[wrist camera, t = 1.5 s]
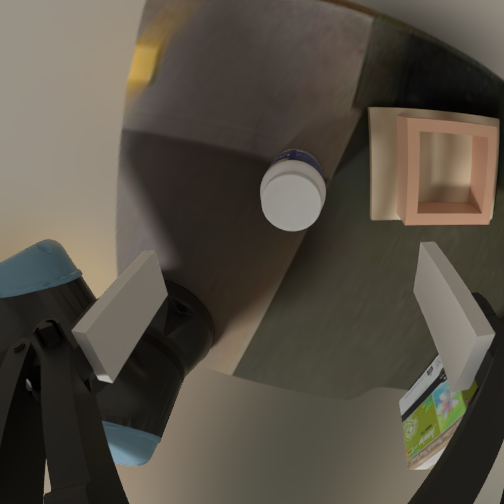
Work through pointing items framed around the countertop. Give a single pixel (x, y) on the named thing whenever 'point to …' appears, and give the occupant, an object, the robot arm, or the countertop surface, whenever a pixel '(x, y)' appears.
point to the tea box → (431, 416)
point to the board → (421, 160)
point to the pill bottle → (293, 190)
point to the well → (479, 182)
